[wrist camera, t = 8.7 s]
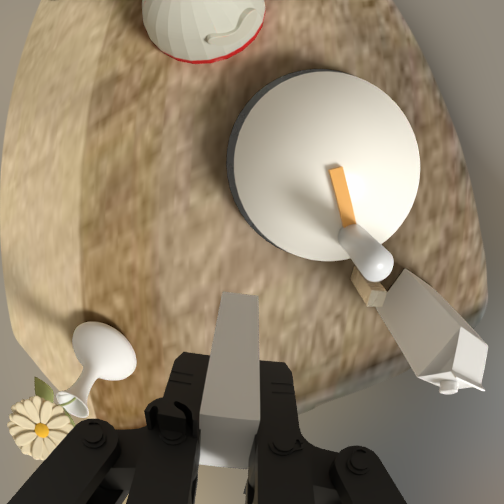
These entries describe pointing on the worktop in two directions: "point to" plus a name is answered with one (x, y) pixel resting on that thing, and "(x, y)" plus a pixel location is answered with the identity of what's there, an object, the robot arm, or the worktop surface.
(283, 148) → the dial
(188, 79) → the worktop surface
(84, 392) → the flower in vase
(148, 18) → the kitchen timer
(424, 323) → the milk carton
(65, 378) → the worktop surface
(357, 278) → the dial base
